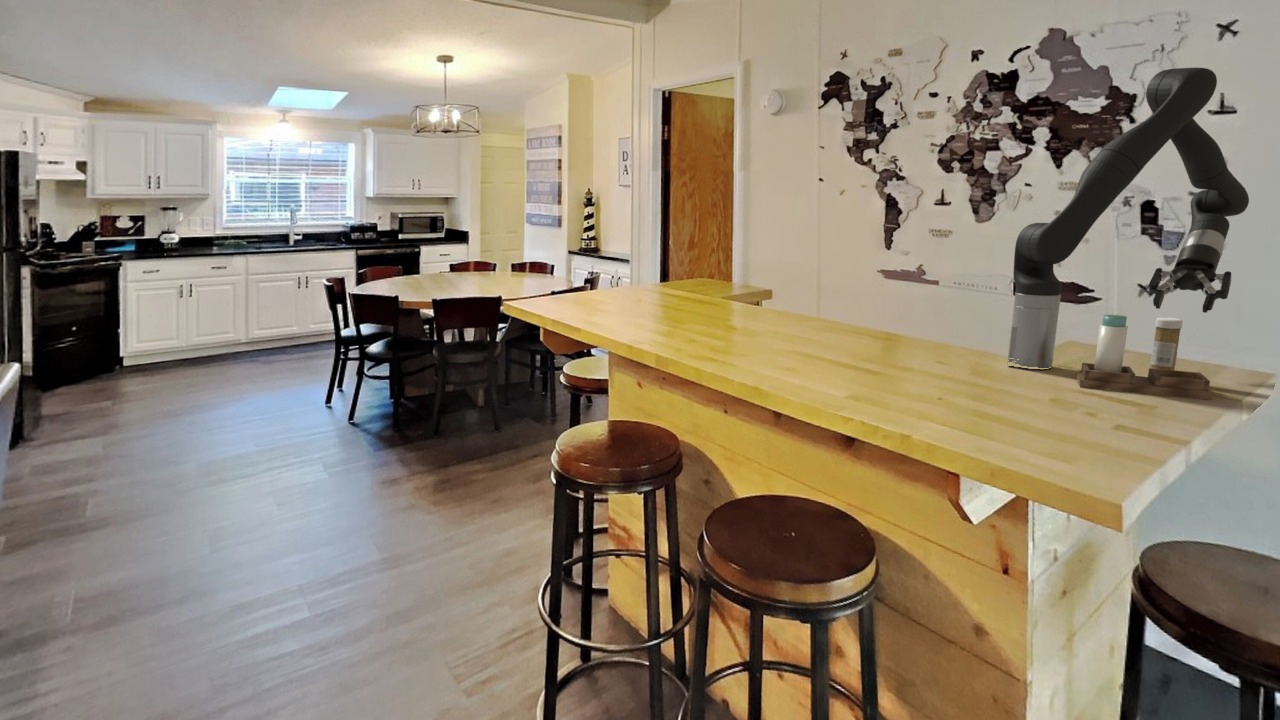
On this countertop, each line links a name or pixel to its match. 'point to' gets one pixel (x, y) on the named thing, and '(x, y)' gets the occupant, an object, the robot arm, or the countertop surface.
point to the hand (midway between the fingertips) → (1180, 308)
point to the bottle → (1111, 344)
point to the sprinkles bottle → (1166, 343)
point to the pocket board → (1147, 382)
